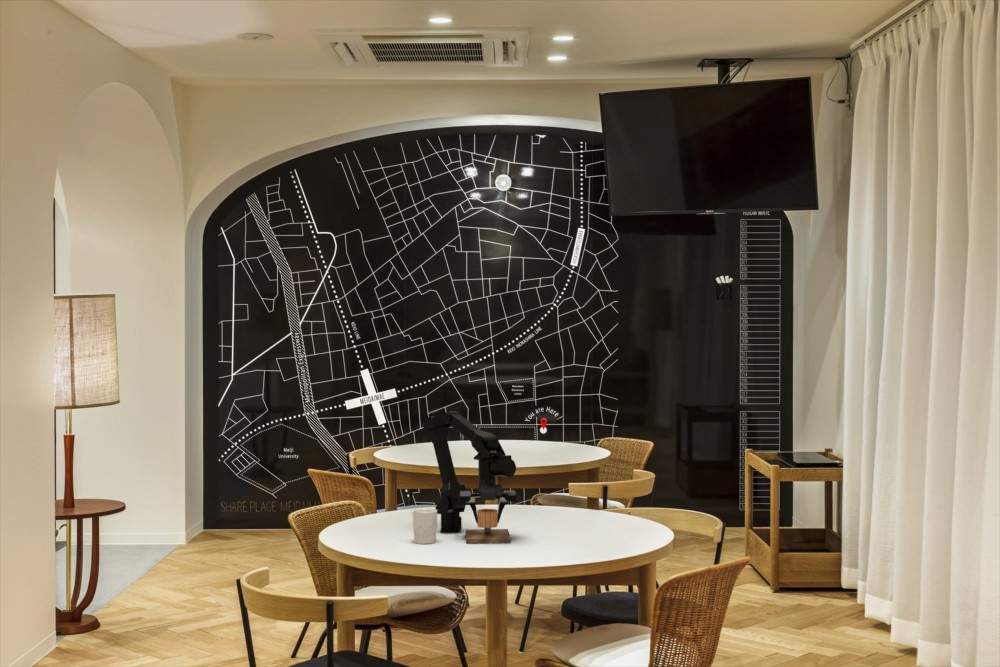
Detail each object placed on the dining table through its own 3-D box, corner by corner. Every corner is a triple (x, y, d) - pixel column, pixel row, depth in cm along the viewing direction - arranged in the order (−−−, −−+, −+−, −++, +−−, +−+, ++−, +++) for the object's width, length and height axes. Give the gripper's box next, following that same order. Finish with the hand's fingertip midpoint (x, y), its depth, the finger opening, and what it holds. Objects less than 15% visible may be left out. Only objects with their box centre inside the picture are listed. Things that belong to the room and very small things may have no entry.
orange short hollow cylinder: (477, 528, 307) (477, 512, 307) (477, 524, 314) (477, 508, 314) (497, 527, 308) (497, 512, 308) (496, 524, 314) (496, 508, 314)
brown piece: (466, 543, 302) (466, 523, 302) (465, 534, 318) (465, 514, 318) (510, 543, 303) (510, 522, 303) (507, 533, 319) (507, 513, 319)
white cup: (408, 543, 303) (408, 511, 303) (419, 538, 311) (418, 507, 311) (431, 545, 301) (431, 513, 301) (441, 540, 308) (441, 509, 308)
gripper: (458, 478, 302) (458, 528, 302) (517, 477, 303) (518, 527, 303) (458, 473, 314) (458, 521, 313) (515, 472, 314) (515, 520, 314)
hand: (487, 522), depth 311 cm, fingers closed on orange short hollow cylinder, 6 cm apart
